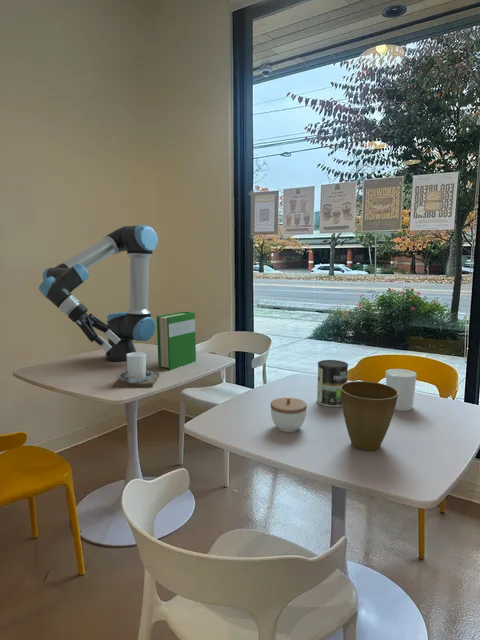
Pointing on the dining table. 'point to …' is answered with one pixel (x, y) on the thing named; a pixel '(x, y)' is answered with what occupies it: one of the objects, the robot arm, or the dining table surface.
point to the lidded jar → (288, 413)
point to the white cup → (136, 364)
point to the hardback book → (176, 339)
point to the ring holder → (137, 380)
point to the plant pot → (367, 412)
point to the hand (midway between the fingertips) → (114, 345)
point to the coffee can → (331, 382)
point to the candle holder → (402, 387)
